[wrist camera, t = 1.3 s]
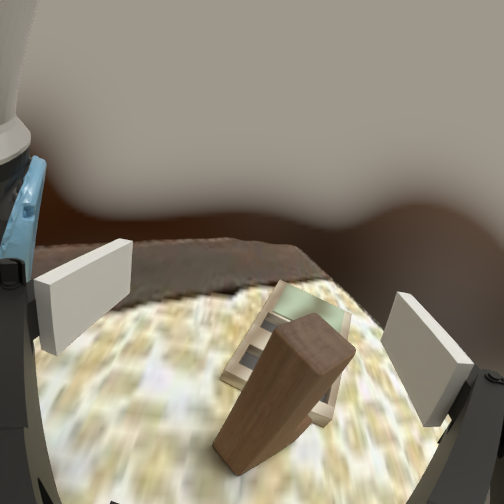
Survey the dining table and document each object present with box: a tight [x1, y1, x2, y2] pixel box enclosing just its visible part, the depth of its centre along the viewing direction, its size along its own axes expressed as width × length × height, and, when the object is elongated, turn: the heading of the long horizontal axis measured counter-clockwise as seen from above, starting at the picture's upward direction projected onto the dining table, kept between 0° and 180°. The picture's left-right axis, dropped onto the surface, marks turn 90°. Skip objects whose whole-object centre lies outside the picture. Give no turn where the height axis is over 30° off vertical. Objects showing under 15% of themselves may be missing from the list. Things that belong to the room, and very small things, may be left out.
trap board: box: [220, 280, 352, 427], centre depth 45 cm, size 14×24×2 cm, turn 159°
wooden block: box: [213, 313, 356, 475], centre depth 26 cm, size 9×4×18 cm, turn 129°
